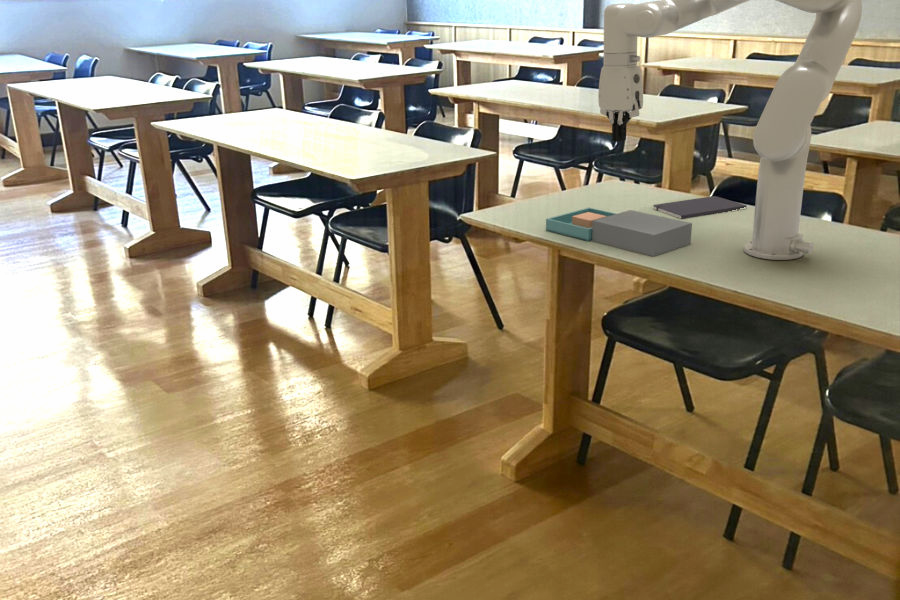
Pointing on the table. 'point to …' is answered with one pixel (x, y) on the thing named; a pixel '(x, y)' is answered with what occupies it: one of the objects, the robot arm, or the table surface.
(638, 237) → the slate bench plate
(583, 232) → the tray
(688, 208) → the notebook
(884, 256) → the table surface
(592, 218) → the terracotta block
